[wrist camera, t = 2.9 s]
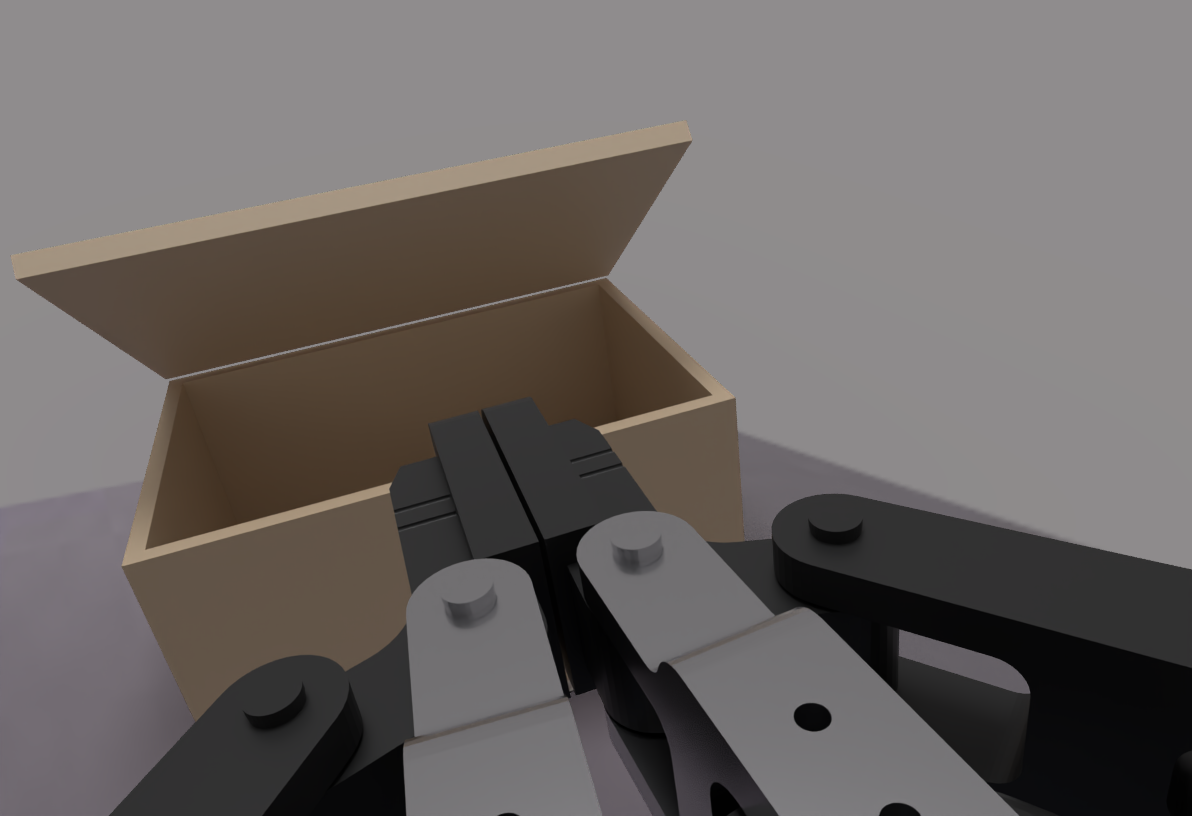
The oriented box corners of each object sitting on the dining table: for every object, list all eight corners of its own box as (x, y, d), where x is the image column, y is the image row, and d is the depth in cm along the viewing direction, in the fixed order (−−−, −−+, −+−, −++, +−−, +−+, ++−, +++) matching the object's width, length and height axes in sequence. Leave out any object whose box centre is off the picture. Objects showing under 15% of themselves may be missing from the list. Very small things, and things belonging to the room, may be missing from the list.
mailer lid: (15, 279, 21) (9, 251, 21) (166, 379, 33) (161, 361, 33) (692, 140, 25) (685, 116, 25) (608, 275, 37) (603, 259, 37)
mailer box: (234, 804, 27) (121, 566, 23) (246, 574, 37) (169, 380, 33) (750, 630, 31) (735, 397, 26) (630, 464, 41) (606, 277, 37)
